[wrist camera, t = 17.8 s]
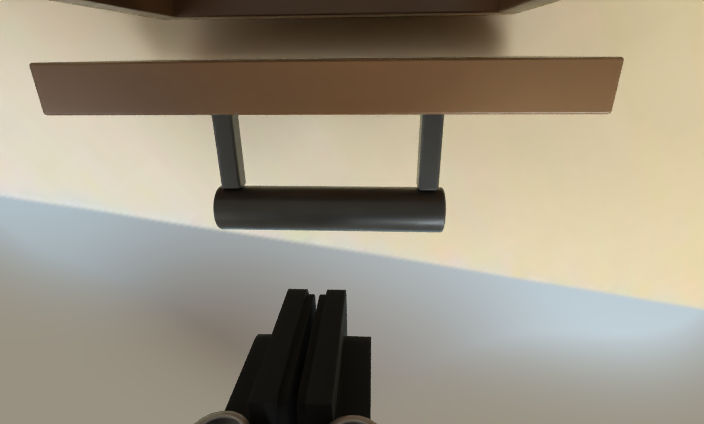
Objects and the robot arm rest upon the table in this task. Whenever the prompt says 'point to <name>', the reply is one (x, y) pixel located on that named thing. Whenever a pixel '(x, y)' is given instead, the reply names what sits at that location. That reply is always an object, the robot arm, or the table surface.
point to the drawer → (327, 102)
